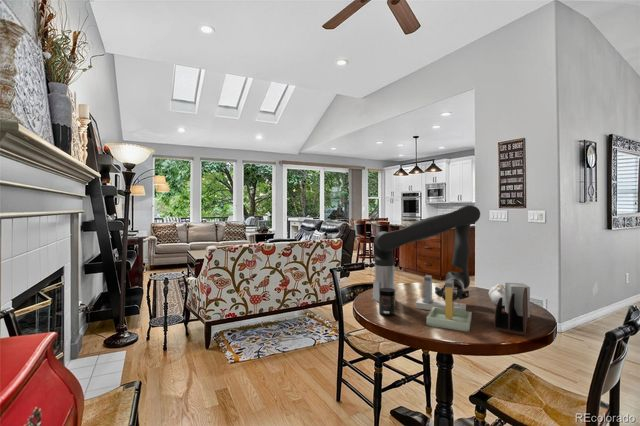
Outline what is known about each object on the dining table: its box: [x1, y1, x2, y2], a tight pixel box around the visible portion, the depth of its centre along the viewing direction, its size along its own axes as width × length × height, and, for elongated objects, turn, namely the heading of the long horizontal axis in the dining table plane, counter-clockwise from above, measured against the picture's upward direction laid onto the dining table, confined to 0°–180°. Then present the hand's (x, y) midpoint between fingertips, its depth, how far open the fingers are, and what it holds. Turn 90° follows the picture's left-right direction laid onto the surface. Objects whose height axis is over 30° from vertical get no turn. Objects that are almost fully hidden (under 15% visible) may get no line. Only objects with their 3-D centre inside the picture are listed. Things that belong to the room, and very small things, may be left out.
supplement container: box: [378, 288, 396, 317], centre depth 142 cm, size 7×7×10 cm
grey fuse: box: [423, 274, 433, 304], centre depth 151 cm, size 2×5×14 cm, turn 152°
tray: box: [426, 307, 473, 333], centre depth 132 cm, size 15×15×3 cm
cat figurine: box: [488, 283, 505, 307], centre depth 156 cm, size 10×8×15 cm
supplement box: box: [504, 282, 531, 318], centre depth 141 cm, size 7×7×13 cm
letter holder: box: [493, 288, 529, 336], centre depth 129 cm, size 10×20×14 cm, turn 146°
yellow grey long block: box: [444, 279, 455, 319], centre depth 131 cm, size 2×5×14 cm, turn 152°
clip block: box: [415, 297, 467, 311], centre depth 149 cm, size 20×8×3 cm, turn 62°
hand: (448, 297), depth 129 cm, fingers closed on yellow grey long block, 2 cm apart
